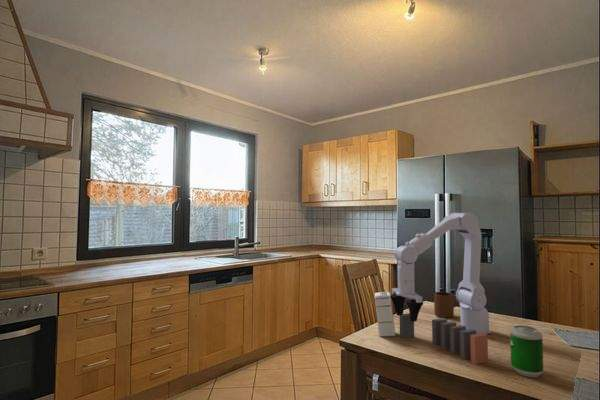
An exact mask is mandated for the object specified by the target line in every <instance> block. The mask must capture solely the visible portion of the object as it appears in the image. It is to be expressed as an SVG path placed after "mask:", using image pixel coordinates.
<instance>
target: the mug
mask: <svg viewBox="0 0 600 400" xmlns="http://www.w3.org/2000/svg"><path fill="white" fill-rule="evenodd" d="M433 296H434V297H433V298H434V299H433V303H434V304H433V305H434V310H433V311H434V316H436V317H437V318H438V319H440V318H445V319H453V318H454V315H455V312H454V311H455V310H454V309H455V308H456V307H460V304H459V301H458V300H457V298H456V293H455V294H453V293H451V292H446V291H436V292H434V295H433ZM454 300H457V301H456V302H455V301H454Z"/></svg>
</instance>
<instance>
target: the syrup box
mask: <svg viewBox="0 0 600 400" xmlns="http://www.w3.org/2000/svg"><path fill="white" fill-rule="evenodd" d="M374 303H375V312H376V319H377V329H378V334H379V335H378V336H379V337H396V329H395V328H396V327H395V320H394V311H393V306H392V305H393V304H392V299H391V293H390V291H380V292H374Z"/></svg>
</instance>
